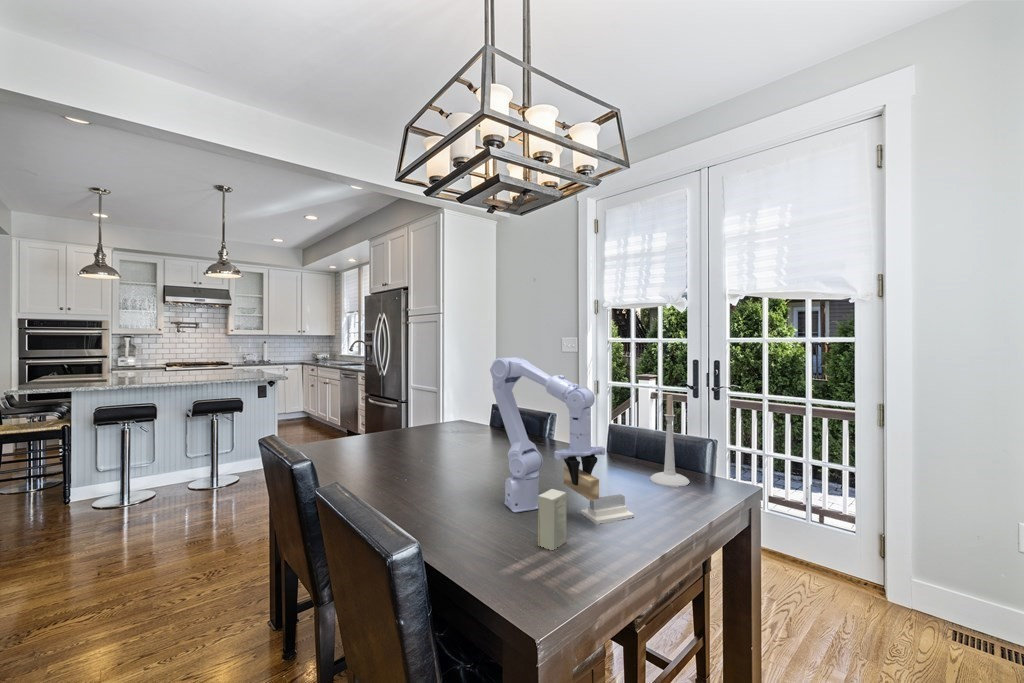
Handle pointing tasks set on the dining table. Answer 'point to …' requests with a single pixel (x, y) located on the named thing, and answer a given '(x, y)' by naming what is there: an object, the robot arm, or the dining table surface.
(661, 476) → the candlestick
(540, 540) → the skincare box
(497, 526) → the dining table surface
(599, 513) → the ridge stand
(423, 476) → the dining table surface
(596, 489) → the oak bar
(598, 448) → the robot arm
